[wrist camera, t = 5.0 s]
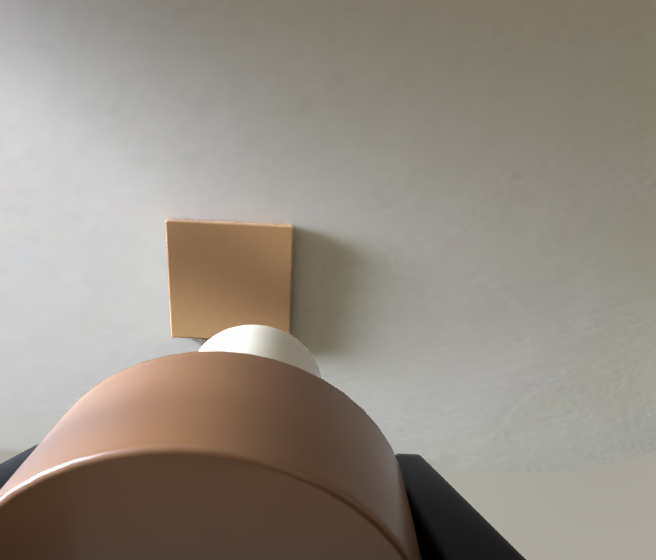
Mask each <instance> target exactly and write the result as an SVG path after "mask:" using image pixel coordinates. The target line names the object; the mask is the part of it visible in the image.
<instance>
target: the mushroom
mask: <svg viewBox="0 0 656 560" xmlns="http://www.w3.org/2000/svg"><path fill="white" fill-rule="evenodd" d="M0 560H422V557H421V552H420V548H419V544H418V540H417V535H416V531H415V527H414V522H413V518H412V514H411V510H410V505H409V501H408V497H407V492H406V488H405V484H404V480H403V477H402V473H401V470H400V466H399V463H398V461H397V459H396V457H395V454H394V452H393V450H392V448H391V446H390V444H389V443H388V441H387V439H386V438H385V436H384V435H383V433H382V432H381V430H380V429H379V427H378V426H377V425H376V424H375V423H374V421H373V420H372V419H371V418H370V417H369V416H368V415H367V414H366V412H365V411H364V410H363V409H362V408H361V407H359V406H358V405H357V404H356V403H355V402H354V401H352V400H351V399H350V398H349V397H348V396H347V395H345V394H344V393H343V392H341V391H340V390H338V389H337V388H335V387H334V386H332V385H331V384H329V383H328V382H326V381H325V380H323V379H321V376H320V371H319V368H318V365H317V363H316V361H315V359H314V357H313V356H312V354H311V353H310V351H309V350H308V349H307V348H306V347H305V346H304V345H303V344H302V343H301V342H300V341H299V340H297V339H296V338H294V337H293V336H291V335H290V334H288V333H286V332H284V331H282V330H279V329H276V328H273V327H269V326H264V325H242V326H237V327H233V328H229V329H227V330H224V331H222V332H220V333H218V334H216V335H215V336H213V337H212V338H211V339H209V340H208V341H207V342H206V343H205V344H204V345H203V346H202V347H201V348H200V350H199V351H196V352H188V353H181V354H174V355H168V356H164V357H160V358H157V359H153V360H149V361H145V362H142V363H140V364H137V365H135V366H132V367H130V368H127V369H125V370H122V371H120V372H118V373H116V374H115V375H113V376H111V377H109V378H108V379H106V380H104V381H102V382H101V383H99V384H97V385H96V386H95V387H94V388H92V389H91V390H90V391H89V392H87V393H86V394H85V395H83V396H82V397H81V398H80V399H79V400H78V401H77V402H76V403H75V404H74V405H73V406H72V407H71V408H70V409H69V410H68V411H67V412H66V414H65V415H64V416H63V417H62V418H61V419H60V420H59V422H58V423H57V424H56V425H55V426H54V427H53V429H52V430H51V431H50V432H49V433H48V434H47V436H46V437H45V438H44V439H43V440H42V441H41V443H40V444H39V445H38V446H37V447H36V448H35V450H34V451H33V452H32V453H31V454H30V455H29V457H28V458H27V459H26V460H25V461H24V462H23V464H22V465H21V466H20V467H19V468H18V469H17V471H16V472H15V473H14V474H13V475H12V476H11V478H10V479H9V480H8V481H7V482H6V483H5V485H4V486H3V487H2V488H1V489H0Z"/></svg>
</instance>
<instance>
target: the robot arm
mask: <svg viewBox="0 0 656 560" xmlns="http://www.w3.org/2000/svg"><path fill="white" fill-rule="evenodd" d="M39 444H40V443H39ZM39 444H37V445H36V446H34V447H32V448H30V449H28V450H26V451H24V452H22V453H21V454H19V455H17V456H15V457H13V458H11V459H9V460H7V461H5V462H4V463H2V464H0V489H1V488H2V487H3V486H4V485H5V483H6V482H7V481H8V480H9V479H10V478H11V476H12V475H13V474H14V473H15V472H16V471H17V469H18V468H19V467H20V466H21V465H22V464H23V462H24V461H25V460H26V459H27V458H28V457H29V455H30V454H31V453H32V452H33V451H34V450H35V448H36V447H37V446H38V445H39ZM395 457H396V459H397V461H398V463H399V466H400V470H401V473H402V477H403V480H404V484H405V488H406V492H407V497H408V501H409V505H410V510H411V514H412V518H413V522H414V527H415V531H416V535H417V540H418V544H419V548H420V552H421V557H422V560H526V559H525V558H524V557H523V556H522V555H521V554H520V553H519V552H518V551H517V550H516V549H515V548H514V547H513V546H511V544H509V542H508V541H507V540H505V539H504V538H503V537H502V536H501V535H500V534H499V533H498V532H497V531H496V530H495V529H494V528H493V527H492V526H491V525H490V524H489V523H488V522H487V521H486V520H485V519H484V518H483V517H482V516H481V515H480V514H479V513H478V512H477V511H476V510H475V509H474V508H473V507H472V506H471V505H470V504H469V503H468V502H467V501H466V500H465V499H464V498H463V497H462V496H461V495H460V494H459V493H458V492H457V491H456V490H455V489H454V488H453V487H452V486H451V485H449V483H448V482H447V481H446V480H445V479H443V477H442V476H441V475H440V474H439V473H438V472H437V471H436V470H435V469H434V468H433V467H431V466H430V465H429V464H428V463H427V462H426V461H425V460H424V459H423V458H422V457H421V456H420V455H417V454H396V455H395Z"/></svg>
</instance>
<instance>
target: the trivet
mask: <svg viewBox="0 0 656 560" xmlns="http://www.w3.org/2000/svg"><path fill="white" fill-rule="evenodd" d="M293 232H294V225H293V224H275V223H253V222H232V221H211V220H189V219H168V220H167V221H166V239H167V259H168V278H169V298H170V318H171V336H172V337H181V338H206V339H211V338H212V337H213V336H215V335H216V334H218V333H220V332H222V331H224V330H227V329H229V328H233V327H237V326H242V325H264V326H269V327H273V328H276V329H279V330H282V331H284V332H286V333H288V334H290V332H291V298H292V265H293Z"/></svg>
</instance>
